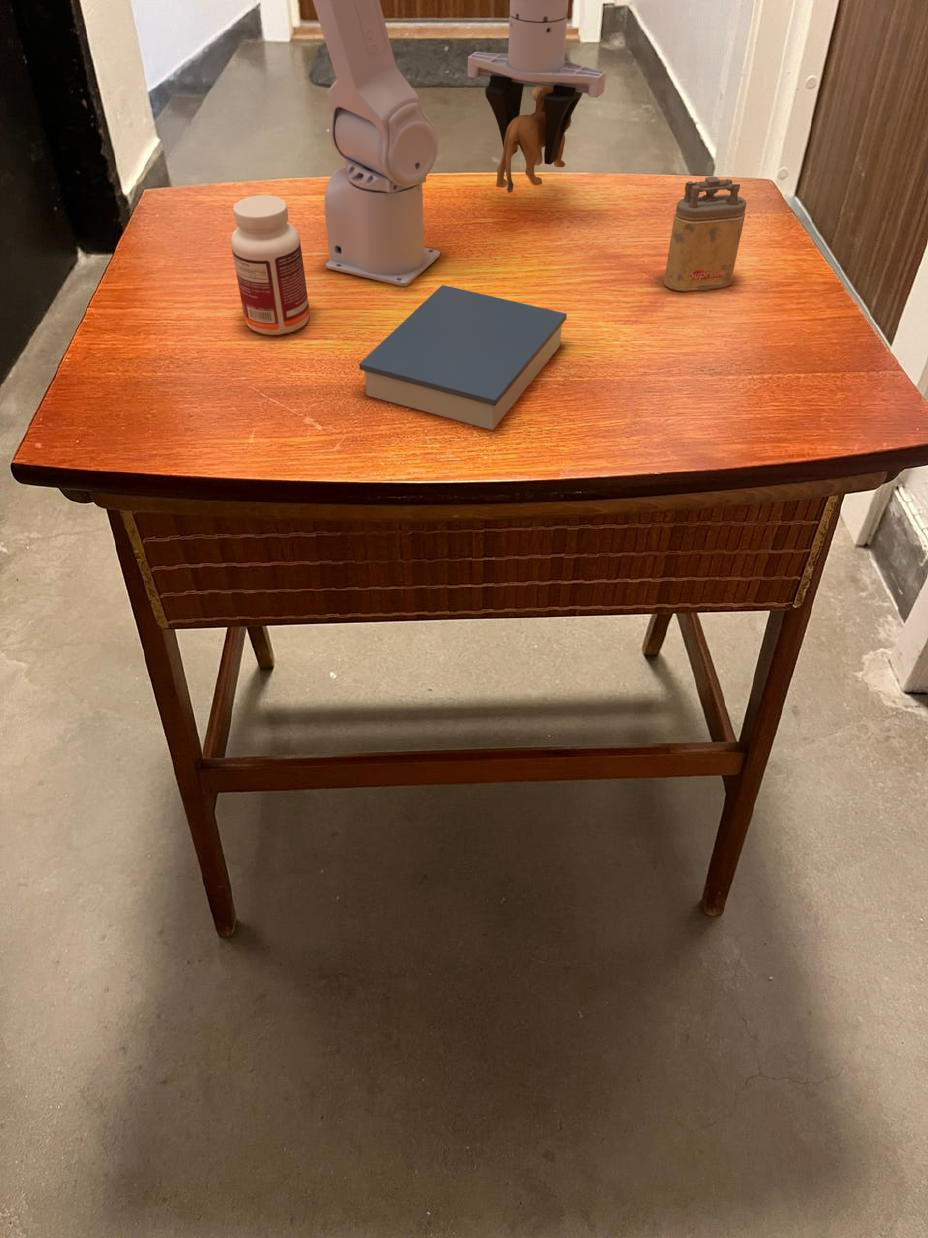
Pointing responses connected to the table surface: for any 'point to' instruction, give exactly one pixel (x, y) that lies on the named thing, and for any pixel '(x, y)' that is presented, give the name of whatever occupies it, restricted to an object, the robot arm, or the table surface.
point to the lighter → (705, 236)
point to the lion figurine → (528, 141)
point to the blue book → (463, 356)
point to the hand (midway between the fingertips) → (531, 157)
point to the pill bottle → (269, 266)
